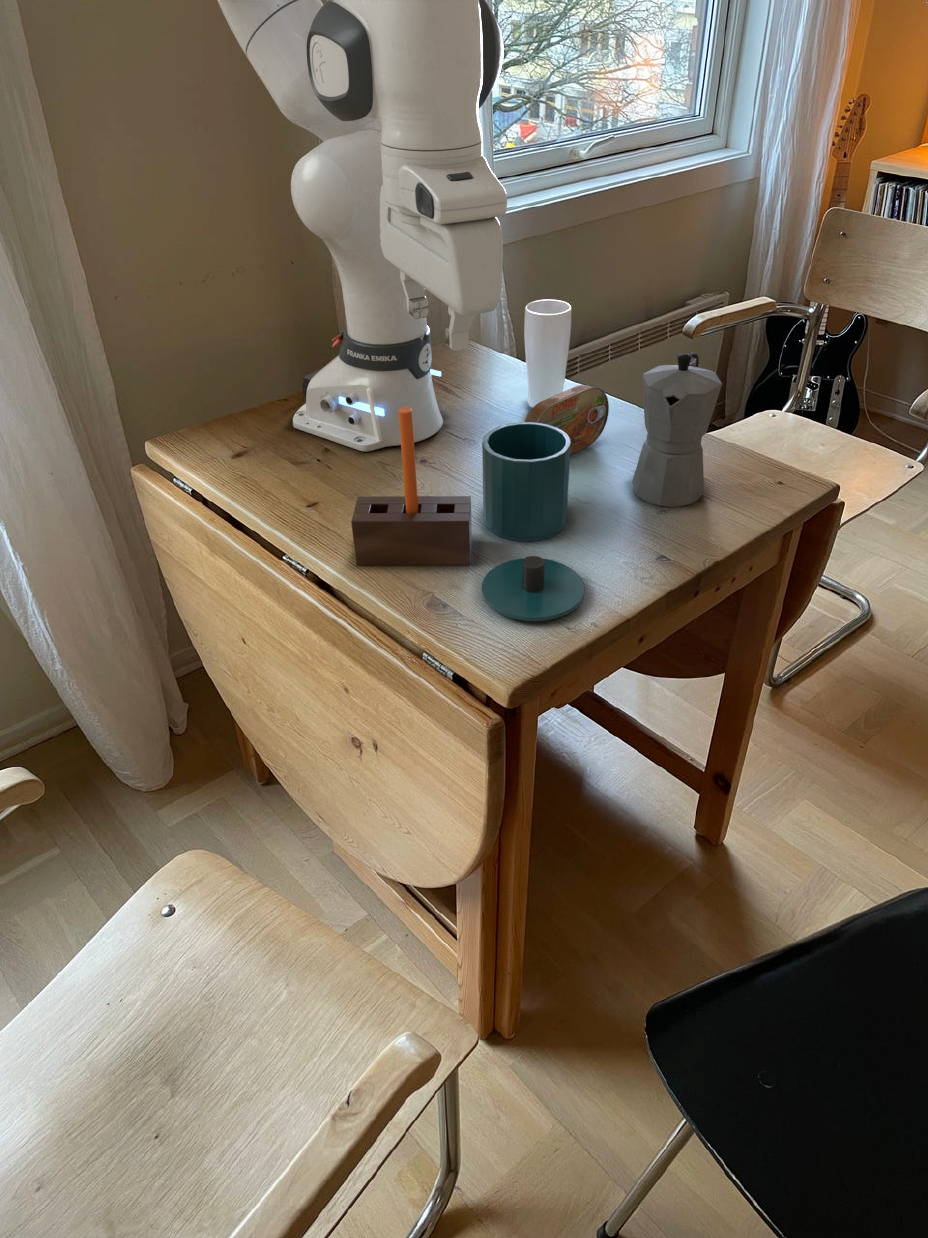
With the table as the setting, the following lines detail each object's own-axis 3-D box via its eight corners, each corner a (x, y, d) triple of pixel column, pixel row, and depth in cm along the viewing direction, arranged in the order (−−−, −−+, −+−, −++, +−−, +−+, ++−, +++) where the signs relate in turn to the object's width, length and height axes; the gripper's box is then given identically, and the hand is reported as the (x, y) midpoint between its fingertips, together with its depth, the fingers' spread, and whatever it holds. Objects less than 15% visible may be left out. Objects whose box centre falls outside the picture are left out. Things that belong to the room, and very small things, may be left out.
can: (470, 530, 108) (468, 451, 102) (503, 492, 115) (504, 416, 109) (548, 549, 105) (551, 468, 98) (578, 508, 112) (582, 430, 105)
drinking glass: (564, 415, 133) (569, 315, 124) (519, 413, 134) (521, 313, 125) (569, 397, 138) (574, 299, 129) (526, 394, 139) (528, 298, 130)
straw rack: (362, 539, 107) (357, 496, 104) (471, 539, 107) (470, 495, 103) (356, 565, 103) (351, 521, 99) (470, 565, 102) (469, 521, 99)
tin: (533, 472, 119) (535, 414, 114) (517, 464, 121) (518, 406, 116) (608, 437, 127) (613, 381, 122) (592, 430, 129) (595, 374, 124)
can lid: (522, 639, 91) (523, 605, 89) (462, 587, 99) (460, 555, 96) (605, 601, 96) (608, 568, 94) (541, 554, 104) (542, 523, 101)
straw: (407, 554, 105) (396, 411, 94) (412, 548, 106) (402, 406, 95) (417, 556, 104) (407, 413, 93) (423, 550, 105) (414, 408, 94)
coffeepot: (695, 521, 109) (717, 380, 98) (619, 508, 111) (632, 370, 100) (715, 464, 120) (736, 332, 109) (645, 454, 123) (660, 324, 112)
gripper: (358, 158, 85) (369, 303, 93) (446, 207, 70) (450, 374, 79) (419, 151, 87) (424, 294, 96) (517, 198, 72) (513, 361, 81)
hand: (437, 331), depth 87 cm, fingers open, 8 cm apart
